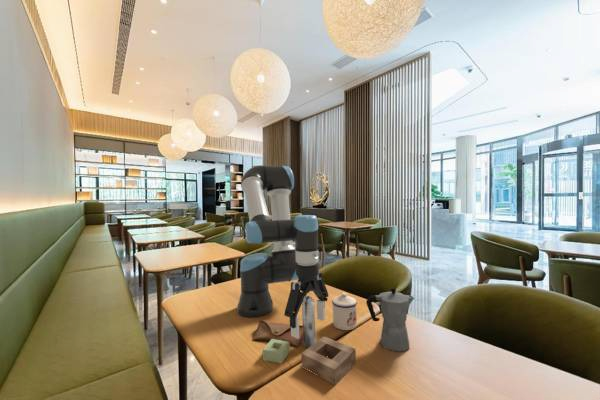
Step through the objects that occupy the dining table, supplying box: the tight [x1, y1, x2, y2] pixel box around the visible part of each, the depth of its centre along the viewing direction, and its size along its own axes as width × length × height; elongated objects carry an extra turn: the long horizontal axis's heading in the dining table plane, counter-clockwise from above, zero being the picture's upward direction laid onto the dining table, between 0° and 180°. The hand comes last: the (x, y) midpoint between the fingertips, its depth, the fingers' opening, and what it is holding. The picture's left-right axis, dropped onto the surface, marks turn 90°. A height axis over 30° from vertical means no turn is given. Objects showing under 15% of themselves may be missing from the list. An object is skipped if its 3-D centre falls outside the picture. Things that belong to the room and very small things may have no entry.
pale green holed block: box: [262, 339, 290, 364], centre depth 77 cm, size 6×6×3 cm
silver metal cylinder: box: [301, 295, 316, 348], centre depth 83 cm, size 4×4×16 cm
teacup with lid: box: [331, 292, 358, 331], centre depth 95 cm, size 12×9×12 cm
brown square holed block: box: [301, 336, 357, 386], centre depth 72 cm, size 11×11×4 cm
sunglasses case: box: [251, 320, 303, 348], centre depth 87 cm, size 18×7×7 cm
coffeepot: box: [365, 287, 415, 353], centre depth 81 cm, size 15×9×18 cm, turn 90°
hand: (308, 327), depth 83 cm, fingers open, 13 cm apart
